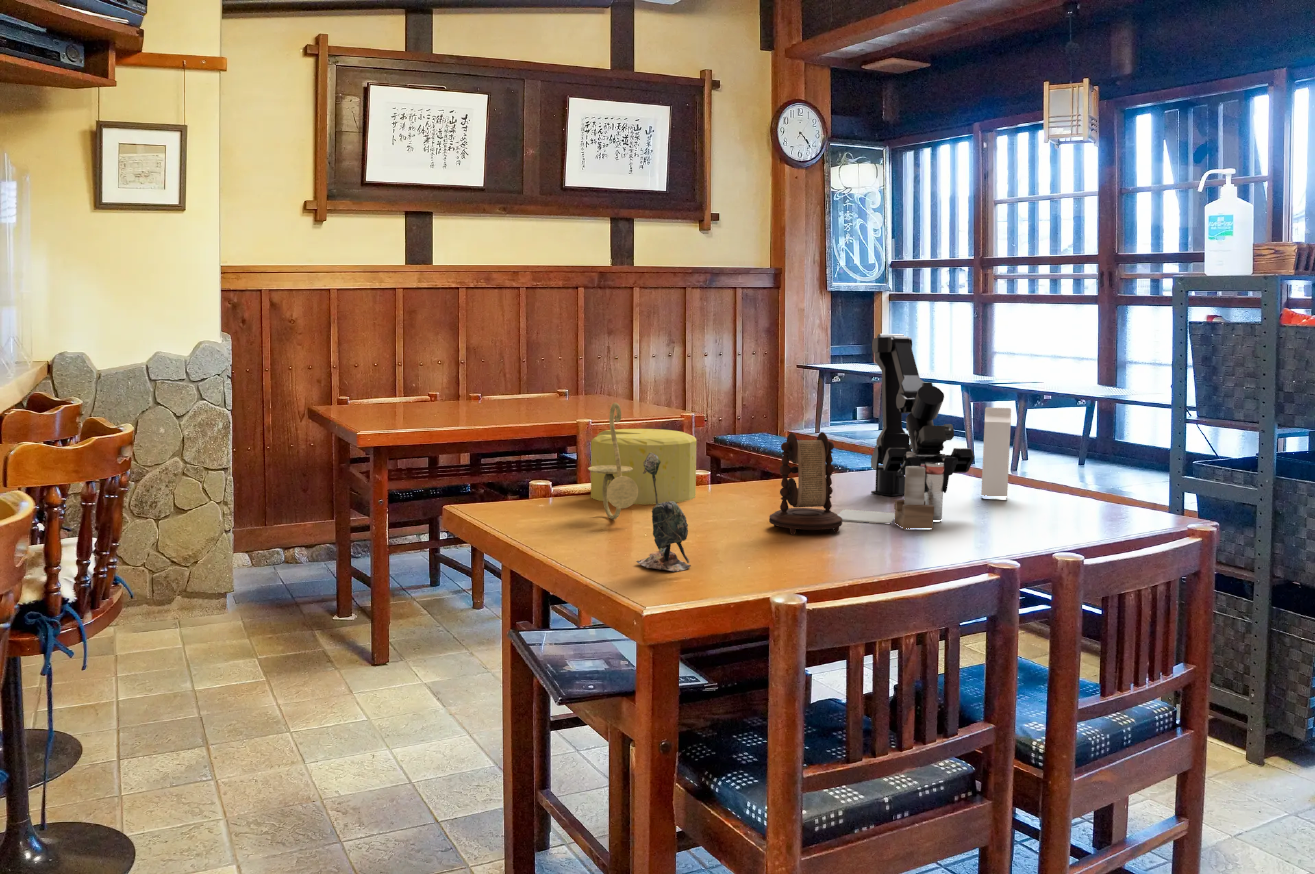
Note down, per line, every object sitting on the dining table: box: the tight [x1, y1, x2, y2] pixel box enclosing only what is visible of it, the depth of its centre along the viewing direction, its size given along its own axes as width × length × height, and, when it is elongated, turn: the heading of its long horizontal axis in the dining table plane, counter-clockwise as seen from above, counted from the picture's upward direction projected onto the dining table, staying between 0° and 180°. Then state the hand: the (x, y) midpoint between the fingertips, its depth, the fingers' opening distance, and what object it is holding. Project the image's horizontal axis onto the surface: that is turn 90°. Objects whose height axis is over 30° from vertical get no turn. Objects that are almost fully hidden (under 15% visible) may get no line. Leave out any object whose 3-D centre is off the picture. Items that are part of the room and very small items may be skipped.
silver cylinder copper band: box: [923, 462, 944, 520], centre depth 235 cm, size 4×4×12 cm
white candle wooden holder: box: [894, 466, 934, 530], centre depth 228 cm, size 8×6×12 cm
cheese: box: [590, 428, 697, 505], centre depth 264 cm, size 26×26×15 cm
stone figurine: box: [636, 453, 692, 573], centre depth 188 cm, size 8×11×20 cm
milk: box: [980, 406, 1012, 497], centre depth 265 cm, size 6×6×22 cm
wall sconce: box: [587, 402, 638, 521], centre depth 232 cm, size 14×10×25 cm
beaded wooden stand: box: [768, 432, 843, 536], centre depth 224 cm, size 15×15×20 cm
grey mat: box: [837, 508, 895, 524], centre depth 239 cm, size 12×12×1 cm
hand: (935, 491), depth 234 cm, fingers closed on silver cylinder copper band, 4 cm apart
